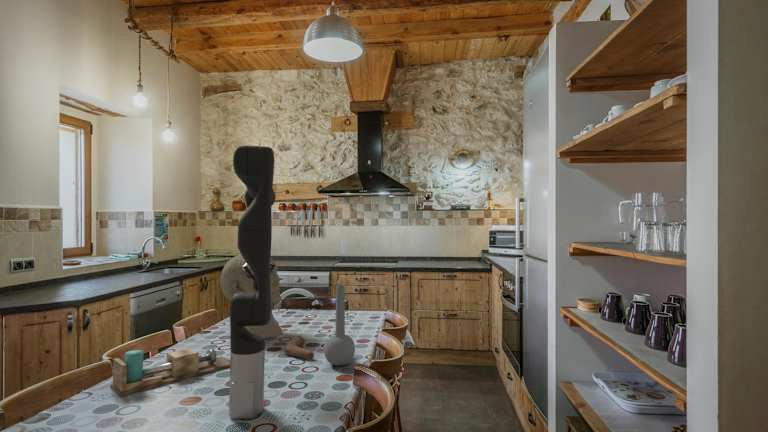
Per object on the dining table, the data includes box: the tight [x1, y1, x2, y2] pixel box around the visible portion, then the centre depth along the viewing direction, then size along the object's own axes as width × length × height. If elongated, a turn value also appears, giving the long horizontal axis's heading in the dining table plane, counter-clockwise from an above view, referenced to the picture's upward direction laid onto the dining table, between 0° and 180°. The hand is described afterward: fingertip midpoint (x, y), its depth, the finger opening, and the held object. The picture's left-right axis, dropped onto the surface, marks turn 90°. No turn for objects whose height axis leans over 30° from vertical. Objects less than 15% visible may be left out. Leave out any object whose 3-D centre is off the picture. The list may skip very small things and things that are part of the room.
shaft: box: [143, 348, 217, 377], centre depth 138 cm, size 24×5×5 cm, turn 139°
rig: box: [109, 347, 230, 397], centre depth 137 cm, size 37×11×9 cm, turn 139°
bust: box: [219, 253, 283, 340], centre depth 191 cm, size 25×28×40 cm
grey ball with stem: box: [323, 284, 356, 367], centre depth 154 cm, size 12×19×30 cm, turn 12°
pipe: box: [284, 335, 315, 361], centre depth 161 cm, size 6×17×10 cm
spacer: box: [124, 349, 144, 384], centre depth 127 cm, size 5×5×10 cm
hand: (257, 290), depth 142 cm, fingers closed
